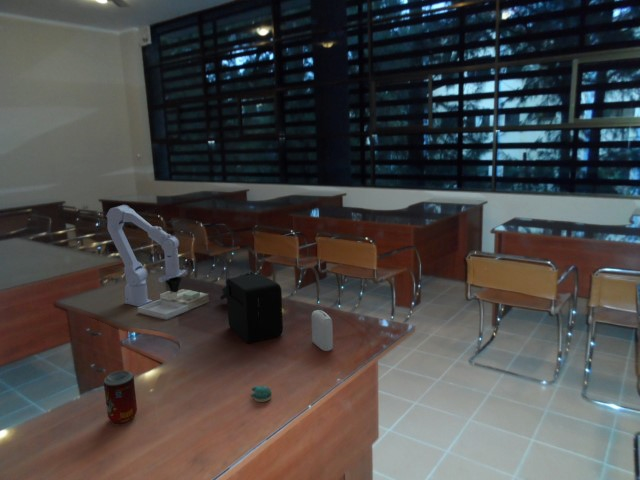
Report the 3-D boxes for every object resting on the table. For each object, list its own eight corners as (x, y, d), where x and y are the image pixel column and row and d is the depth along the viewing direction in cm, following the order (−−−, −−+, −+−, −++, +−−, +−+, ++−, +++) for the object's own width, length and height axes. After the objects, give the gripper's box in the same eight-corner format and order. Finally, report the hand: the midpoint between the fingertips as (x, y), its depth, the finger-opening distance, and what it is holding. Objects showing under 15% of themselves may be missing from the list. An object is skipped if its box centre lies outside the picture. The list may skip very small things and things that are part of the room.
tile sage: (183, 298, 204) (182, 293, 204) (191, 294, 208) (191, 290, 208) (191, 300, 202) (191, 295, 201) (199, 296, 206) (199, 292, 205)
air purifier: (286, 336, 171) (284, 284, 167) (248, 345, 163) (246, 291, 159) (263, 319, 188) (261, 271, 184) (228, 327, 180) (225, 277, 176)
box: (138, 313, 197) (137, 307, 196) (161, 304, 207) (160, 299, 207) (166, 320, 189) (166, 314, 188) (188, 310, 199) (188, 305, 198)
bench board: (161, 304, 207) (161, 297, 206) (183, 296, 218) (183, 289, 217) (187, 310, 199) (187, 302, 198) (209, 301, 210) (208, 294, 209)
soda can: (103, 420, 120) (98, 376, 118) (129, 408, 126) (124, 366, 123) (116, 430, 116) (111, 385, 114) (143, 417, 121) (138, 374, 119)
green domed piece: (255, 406, 126) (255, 393, 125) (246, 393, 132) (245, 381, 132) (275, 400, 129) (275, 387, 128) (265, 388, 135) (265, 376, 134)
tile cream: (160, 298, 204) (159, 294, 204) (169, 295, 209) (168, 290, 208) (168, 300, 202) (168, 295, 202) (177, 296, 206) (176, 292, 206)
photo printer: (310, 341, 166) (309, 308, 164) (321, 339, 168) (320, 306, 165) (323, 352, 157) (322, 317, 155) (334, 350, 159) (334, 315, 156)
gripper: (165, 269, 197) (168, 299, 200) (190, 261, 210) (193, 290, 212) (154, 267, 201) (156, 297, 204) (179, 259, 213) (181, 288, 216)
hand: (174, 293), depth 208 cm, fingers closed
